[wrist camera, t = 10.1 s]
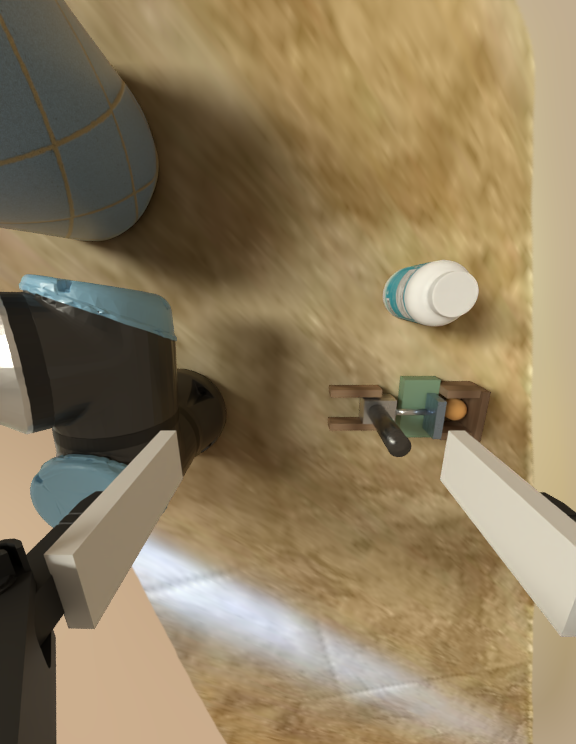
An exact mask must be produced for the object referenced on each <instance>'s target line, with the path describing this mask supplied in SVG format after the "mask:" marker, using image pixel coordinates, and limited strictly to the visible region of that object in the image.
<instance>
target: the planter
mask: <svg viewBox="0 0 576 744" xmlns="http://www.w3.org/2000/svg"><path fill="white" fill-rule="evenodd" d="M158 171H159V160H158V154H157V150H156V147H155V144H154V141H153V137H152V134H151V131H150V128H149V126H148V123H147V120H146V118H145V116H144V113H143V111H142V109H141V107H140V106H139V104H138V102H137V100H136V99H135V97H134V95H133V94H132V92H131V91H130V89H129V88H128V87H127V85H126V84H125V83H124V81H123V80H122V79H121V77H120V76H119V75H118V73H117V72H116V71H115V69H114V68H113V67H112V65H111V64H110V63H109V61H108V60H107V59H106V57H105V56H104V55H103V53H102V52H101V51H100V49H99V48H98V46H97V45H96V44H95V42H94V41H93V40H92V38H91V37H90V36H89V34H88V33H87V32H86V30H85V29H84V27H83V26H82V25H81V23H80V22H79V21H78V19H77V18H76V16H75V15H74V14H73V12H72V11H71V10H70V8H69V7H68V5H67V4H66V3H65V1H64V0H0V228H6V229H13V230H20V231H26V232H33V233H39V234H45V235H51V236H57V237H63V238H69V239H75V240H83V241H104V240H108V239H111V238H114V237H116V236H118V235H120V234H122V233H123V232H125V231H126V230H128V229H129V228H130V227H131V226H133V225H134V224H135V223H136V222H137V220H138V219H139V218H140V217H141V215H142V214H143V213H144V211H145V209H146V207H147V206H148V204H149V202H150V199H151V197H152V194H153V192H154V189H155V186H156V182H157V178H158Z"/></svg>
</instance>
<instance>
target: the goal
mask: <svg viewBox="0 0 576 744" xmlns="http://www.w3.org/2000/svg"><path fill="white" fill-rule="evenodd" d="M439 393H440V394H442V395H443V396H444V397H446V398H461V399H460V400H462V401H463V402H464V403H465V404H466V407H467V413H466V415H465V416H464V417H463V418H462V419H460V420H444V423H443V430H442V436H441V439H440V440H447V436H448V431H466V432H467V433H468V434H469V435H471V436H472V437H473V438H474V439H476V440H477V441H478V442H480V441H481V436H482V432H483V427H484V422H485V417H486V412H487V408H488V403H489V398H490V393H491V392H490V391H488V390H486V389H484V388H482V387H480V386H478V385H476V384H474V383H472V382H470V381H441V383H440V389H439Z"/></svg>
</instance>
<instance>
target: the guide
mask: <svg viewBox="0 0 576 744" xmlns="http://www.w3.org/2000/svg"><path fill="white" fill-rule="evenodd" d="M329 393H330V396H331V397H382V389H381V388H380V387H379V386H378V385H329ZM328 425H329V429H330V430H376V429H375V427H374V425H373V424H363V423H362V421H361V419H360V417H328Z"/></svg>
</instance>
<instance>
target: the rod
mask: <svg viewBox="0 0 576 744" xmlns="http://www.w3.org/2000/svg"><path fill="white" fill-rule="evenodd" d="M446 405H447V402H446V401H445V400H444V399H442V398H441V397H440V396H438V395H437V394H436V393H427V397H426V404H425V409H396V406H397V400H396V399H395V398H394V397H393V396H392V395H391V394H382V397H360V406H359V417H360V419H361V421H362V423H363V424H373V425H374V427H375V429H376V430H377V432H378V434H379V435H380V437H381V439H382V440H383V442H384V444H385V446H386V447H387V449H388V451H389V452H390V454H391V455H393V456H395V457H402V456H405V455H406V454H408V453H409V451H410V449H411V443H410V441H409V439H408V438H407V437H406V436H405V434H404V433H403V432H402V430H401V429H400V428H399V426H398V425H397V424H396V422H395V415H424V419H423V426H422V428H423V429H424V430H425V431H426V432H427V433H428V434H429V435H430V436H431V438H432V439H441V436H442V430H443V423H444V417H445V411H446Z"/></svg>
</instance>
